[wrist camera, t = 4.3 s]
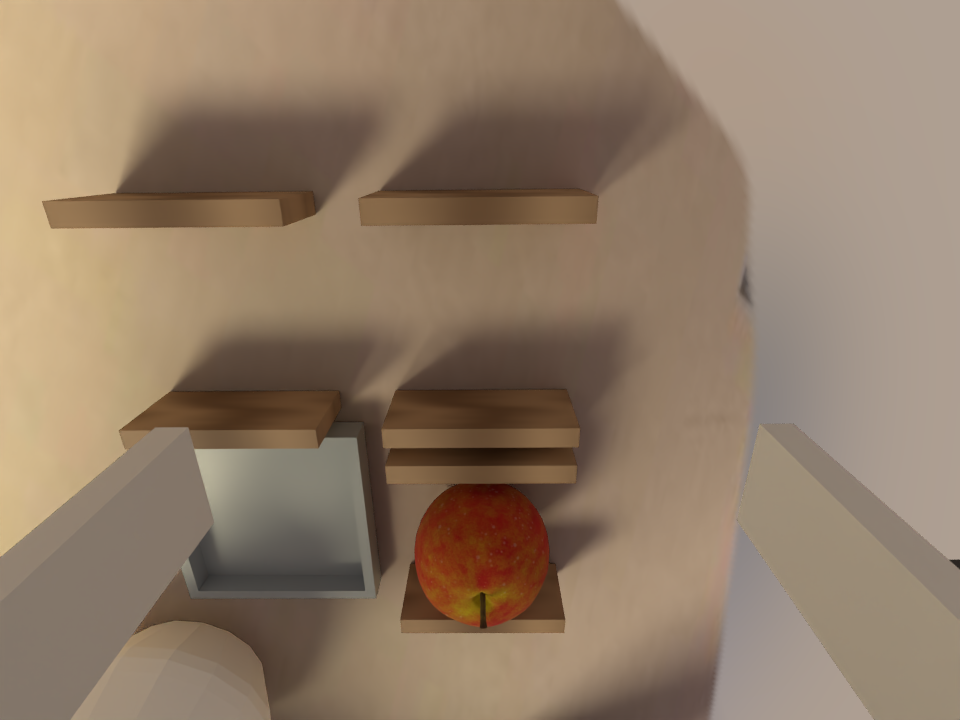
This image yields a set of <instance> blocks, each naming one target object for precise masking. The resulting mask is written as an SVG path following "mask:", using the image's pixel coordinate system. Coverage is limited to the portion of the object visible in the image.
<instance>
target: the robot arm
mask: <svg viewBox="0 0 960 720" xmlns="http://www.w3.org/2000/svg"><path fill="white" fill-rule="evenodd" d="M737 521H738V523H739V524H740V525H741V527H742V528H743V530H744V531H745V533H746V534H747V536H748V537H749V538H750V540H751V541H752V543H753V544H754V546H755V547H756V549H757V550H758V552H759V553H760V555H761V556H762V558H763V559H764V560H765V562H766V563H767V565H768V566H769V568H770V569H771V571H772V572H773V573H774V575H775V576H776V578H777V579H778V581H779V582H780V584H781V585H782V587H783V588H784V590H785V591H786V592H787V594H788V595H789V597H790V598H791V600H792V601H793V602H794V604H795V605H796V607H797V608H798V610H799V611H800V613H801V614H802V616H803V617H804V619H805V620H806V622H807V623H808V624H809V626H810V627H811V629H812V630H813V631H814V633H815V635H816V636H817V637H818V639H819V640H820V642H821V643H822V645H823V646H824V648H825V649H826V650H827V652H828V654H829V655H830V656H831V658H832V659H833V661H834V662H835V664H836V665H837V666H838V668H839V670H840V671H841V672H842V674H843V675H844V677H845V678H846V680H847V681H848V683H849V684H850V685H851V687H852V689H853V690H854V691H855V693H856V694H857V696H858V697H859V699H860V700H861V701H862V703H863V704H864V706H865V707H866V709H867V710H868V712H869V713H870V715H871V716H872V718H873V719H874V720H960V560H948V559H947V558H946V557H945V556H944V555H943V554H942V553H940V552H939V551H938V550H937V549H936V548H934V547H933V546H932V545H931V544H930V543H929V542H928V541H927V540H925V539H924V538H923V537H922V536H921V535H920V534H919V533H917V532H916V531H915V530H914V529H913V528H912V527H911V526H910V525H908V524H907V523H906V522H905V521H904V520H903V519H901V518H900V517H899V516H898V515H897V514H896V513H895V512H894V511H892V510H891V509H890V508H889V507H888V506H887V505H885V503H883V502H882V501H881V500H880V499H879V498H878V497H876V496H875V495H874V494H873V493H872V492H871V491H870V490H868V489H867V488H866V487H865V486H864V485H863V484H862V483H861V482H859V481H858V480H857V479H856V478H855V477H854V476H853V475H851V474H850V473H849V472H848V471H847V470H845V469H844V468H843V467H842V466H841V465H840V464H839V463H838V462H837V461H835V460H834V459H833V458H832V457H831V456H830V455H829V454H827V453H826V452H825V451H824V450H823V449H822V448H821V447H820V446H818V445H817V444H816V443H815V442H814V441H813V440H812V439H810V438H809V437H808V436H807V435H806V434H805V433H804V432H802V431H801V430H800V429H799V428H798V427H797V426H796V425H794V424H760V425H759V429H758V434H757V438H756V442H755V446H754V451H753V455H752V459H751V463H750V467H749V471H748V476H747V480H746V484H745V488H744V492H743V497H742V501H741V505H740V509H739V514H738V518H737ZM213 523H214V520H213V516H212V512H211V509H210V505H209V501H208V498H207V494H206V490H205V487H204V483H203V480H202V476H201V472H200V469H199V465H198V461H197V458H196V454H195V450H194V447H193V443H192V439H191V436H190V432H189V428H188V427H155V428H154V429H153V430H152V431H151V432H149V433H148V434H147V435H146V436H145V437H143V438H142V439H141V440H140V441H139V442H137V443H136V444H135V445H134V446H133V447H131V448H130V449H129V450H128V451H127V452H125V453H124V454H123V455H122V456H121V457H119V458H118V459H117V460H116V461H115V462H114V463H112V464H111V465H110V466H109V467H108V468H106V469H105V470H104V471H103V472H102V473H100V474H99V475H98V476H97V477H96V478H94V479H93V480H92V481H91V482H90V483H88V484H87V485H86V486H85V487H84V488H83V489H81V490H80V491H79V492H78V493H77V494H75V495H74V496H73V497H72V498H71V499H69V500H68V501H67V502H66V503H65V504H63V505H62V506H61V507H60V508H59V509H57V510H56V511H55V512H54V513H53V514H51V515H50V516H49V517H48V518H47V519H46V520H44V521H43V522H42V523H41V524H40V525H38V526H37V527H36V528H35V529H34V530H32V531H31V532H30V533H29V534H28V535H26V536H25V537H24V538H23V539H22V540H20V541H19V542H18V543H17V544H16V545H15V546H13V547H12V548H11V549H10V550H9V551H7V552H6V553H5V554H4V555H3V556H1V557H0V720H71V718H72V717H73V715H74V714H75V713H76V711H77V710H78V709H79V707H80V706H81V704H82V703H83V702H84V700H85V699H86V698H87V696H88V695H89V694H90V692H91V691H92V689H93V688H94V687H95V685H96V684H97V683H98V681H99V680H100V678H101V677H102V676H103V674H104V673H105V672H106V670H107V669H108V667H109V666H110V665H111V663H112V662H113V661H114V659H115V658H116V656H117V655H118V654H119V652H120V651H121V650H122V648H123V647H124V645H125V644H126V643H127V641H128V640H129V639H130V637H131V636H132V634H133V633H134V632H135V630H136V629H137V628H138V626H139V625H140V623H141V622H142V621H143V619H144V618H145V617H146V615H147V614H148V612H149V611H150V610H151V608H152V607H153V606H154V604H155V603H156V602H157V600H158V599H159V597H160V596H161V595H162V593H163V592H164V591H165V589H166V588H167V586H168V585H169V584H170V582H171V581H172V580H173V578H174V577H175V575H176V574H177V573H178V571H179V570H180V569H181V567H182V566H183V564H184V563H185V562H186V560H187V559H188V558H189V556H190V555H191V553H192V552H193V551H194V549H195V548H196V547H197V545H198V544H199V542H200V541H201V540H202V538H203V537H204V536H205V534H206V533H207V531H208V530H209V529H210V527H211V526H212V525H213Z"/></svg>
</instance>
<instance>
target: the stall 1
mask: <svg viewBox="0 0 960 720" xmlns="http://www.w3.org/2000/svg"><path fill="white" fill-rule="evenodd" d="M42 203H43V206H44V209H45V212H46V215H47V218H48V221H49V224H50V227H51V228H159V227H270V226H286V225H288V224H291V223H294V222H296V221H299V220H302V219H305V218H307V217H310V216H313V215H315V214H316V212H315V205H314V197H313V191H302V192H199V193H113V194H104V195H95V196H86V197H77V198H68V199H59V200H50V201H42ZM340 409H341V401H340V393H339V391H200V392H169V393H168V394H166V395H165V396H164V397H162V398H161V399H160V400H158V401H157V402H156V403H154V404H153V405H152V406H151V407H149V408H148V409H147V410H145V411H144V412H143V413H141V414H140V415H139V416H137V417H136V418H135V419H134V420H132V421H131V422H130V423H128V424H127V425H126V426H124V427H123V428H122V429H120V430H119V433H120V436H121V439H122V442H123V445H124V448H125V449H130V448H131V447H133V446H134V445H135V444H136V443H137V442H139V441H140V440H141V439H142V438H143V437H145V436H146V435H147V434H148V433H149V432H151V431H152V430H153V429H154V428H155V427H188V428H189V432H190V436H191V439H192V443H193V447H194V449H319V447H320V445H321V443H322V441H323V440H324V438H325V436H326V434H327V432H328V431H329V429H330V427H331V425H332V423H333V422H334V420H335V418H336V416H337V414H338V413H339V411H340Z"/></svg>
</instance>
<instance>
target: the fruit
mask: <svg viewBox="0 0 960 720" xmlns="http://www.w3.org/2000/svg"><path fill="white" fill-rule="evenodd" d="M415 565H416V571H417V575H418V579H419V582H420V585H421V587H422V589H423V591H424V593H425V595H426V597H427V598H428V600H429V601H430V602H431V603H432V605H433V606H434V607H435V608H437V609H438V610H439V611H440V612H441V613H443V614H444V615H446V616H448V617H450V618H452V619H454V620H456V621H459V622H461V623H464V624H467V625H470V626H476V627H480V629H486V628H487V627H491V626H495V625H499V624H502V623H504V622H506V621H509V620H511V619H513V618H514V617H516V616H518V615H519V614H521V613H522V612H524V611H525V610H526V609H527V608H528V607H529V606H530V605H531V604H532V602H533V601H534V600H535V598H536V596H537V595H538V593H539V591H540V589H541V587H542V585H543V582H544V580H545V577H546V574H547V571H548V565H549V543H548V536H547V532H546V529H545V526H544V523H543V520H542V518H541V516H540V515H539V513H538V511H537V510H536V508H535V507H534V505H533V504H532V503H531V502H530V501H529V499H528V498H527V497H525V496H524V495H523V494H522V493H521V492H520V491H518V490H517V489H515V488H513V487H512V486H510V485H507V484H458V485H455V486H453V487H451V488H449V489H447V490H446V491H444V492H443V493H442V494H441V495H439V496H438V497H437V498H436V499H435V500H434V501H433V503H432V504H431V505H430V506H429V508H428V509H427V511H426V513H425V514H424V516H423V518H422V520H421V523H420V525H419V528H418V531H417V535H416V542H415Z"/></svg>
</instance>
